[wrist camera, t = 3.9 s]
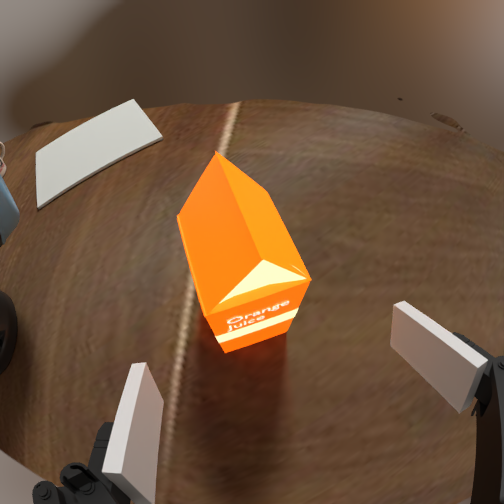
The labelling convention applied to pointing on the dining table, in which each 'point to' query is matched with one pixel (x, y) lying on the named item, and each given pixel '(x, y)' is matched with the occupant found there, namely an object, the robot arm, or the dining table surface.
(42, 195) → the rubber mat
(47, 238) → the dining table surface
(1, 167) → the teacup with lid
